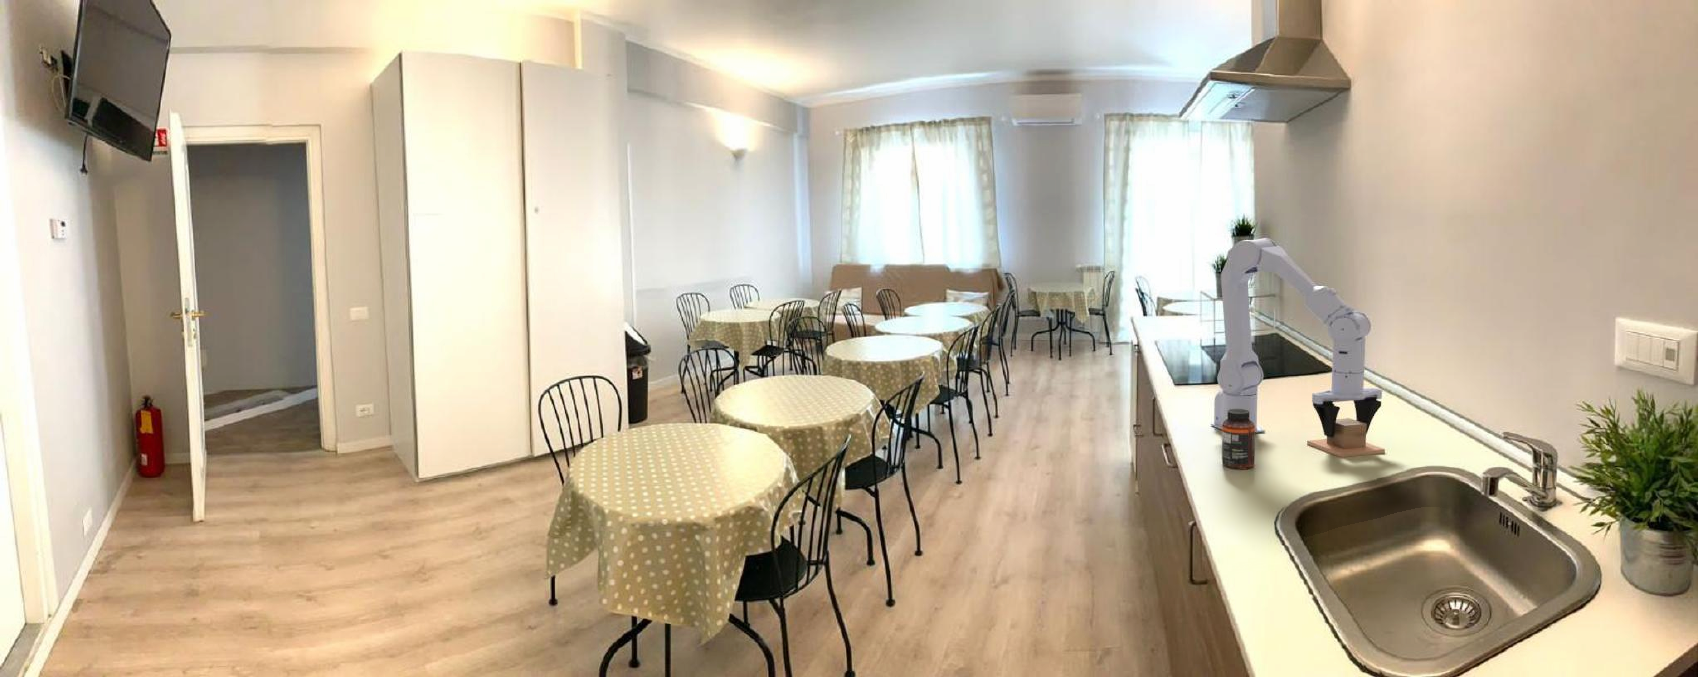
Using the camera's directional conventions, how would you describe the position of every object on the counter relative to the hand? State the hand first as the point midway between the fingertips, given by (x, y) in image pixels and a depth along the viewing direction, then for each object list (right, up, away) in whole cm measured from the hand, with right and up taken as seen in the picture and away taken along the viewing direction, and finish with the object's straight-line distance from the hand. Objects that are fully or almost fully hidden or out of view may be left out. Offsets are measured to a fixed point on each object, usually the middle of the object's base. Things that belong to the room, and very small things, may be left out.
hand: (1345, 434), depth 175 cm
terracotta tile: (0, -3, 0) cm, 3 cm away
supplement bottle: (-26, -6, -7) cm, 27 cm away
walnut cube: (0, -2, 0) cm, 2 cm away
